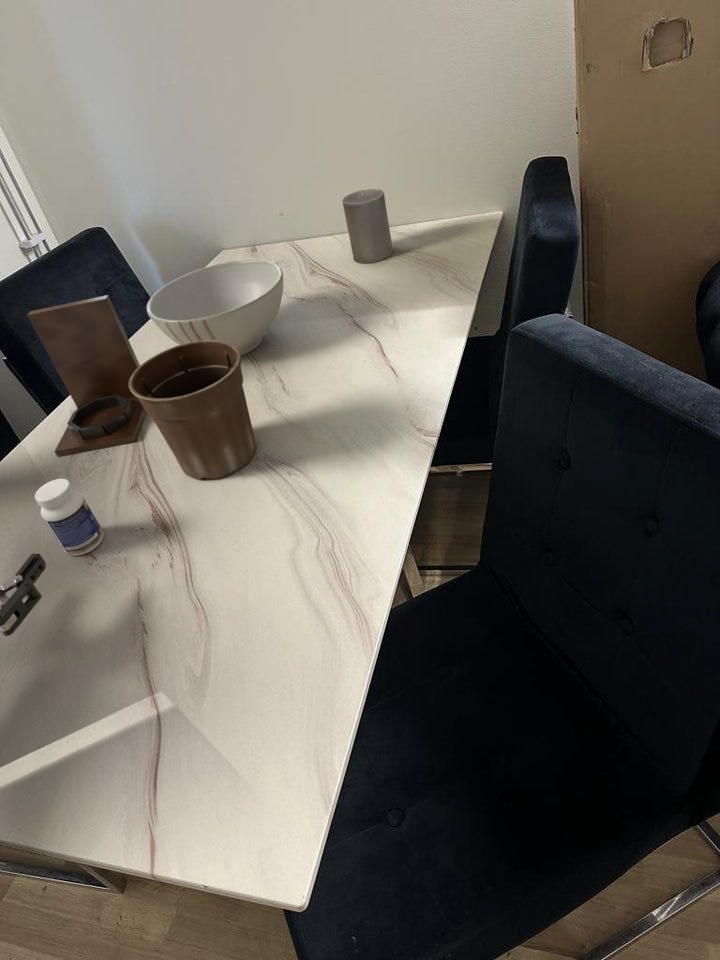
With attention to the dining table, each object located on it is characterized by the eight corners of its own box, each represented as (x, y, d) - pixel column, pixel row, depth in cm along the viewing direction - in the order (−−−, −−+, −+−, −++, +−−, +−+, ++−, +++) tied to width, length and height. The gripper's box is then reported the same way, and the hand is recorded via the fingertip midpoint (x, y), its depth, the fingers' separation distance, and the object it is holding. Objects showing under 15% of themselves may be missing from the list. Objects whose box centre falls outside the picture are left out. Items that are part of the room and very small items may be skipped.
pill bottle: (113, 534, 94) (81, 480, 88) (81, 562, 90) (46, 508, 84) (88, 524, 97) (55, 471, 91) (56, 550, 93) (21, 498, 87)
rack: (57, 456, 113) (-5, 353, 101) (82, 408, 125) (30, 311, 113) (135, 442, 112) (83, 335, 100) (153, 394, 124) (108, 294, 112)
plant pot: (291, 445, 103) (262, 353, 93) (208, 504, 95) (167, 411, 85) (231, 416, 113) (199, 330, 103) (151, 467, 105) (108, 380, 95)
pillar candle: (345, 260, 159) (331, 195, 150) (374, 244, 163) (363, 181, 154) (372, 266, 153) (360, 199, 143) (402, 250, 157) (392, 184, 148)
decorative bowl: (184, 395, 122) (159, 336, 114) (158, 343, 142) (136, 290, 134) (317, 344, 127) (301, 285, 120) (274, 301, 148) (259, 248, 140)
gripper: (-49, 653, 65) (44, 535, 77) (-157, 644, 69) (-53, 534, 81) (-8, 697, 69) (74, 579, 81) (-112, 686, 73) (-19, 576, 85)
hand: (11, 557), depth 81 cm, fingers open, 8 cm apart
